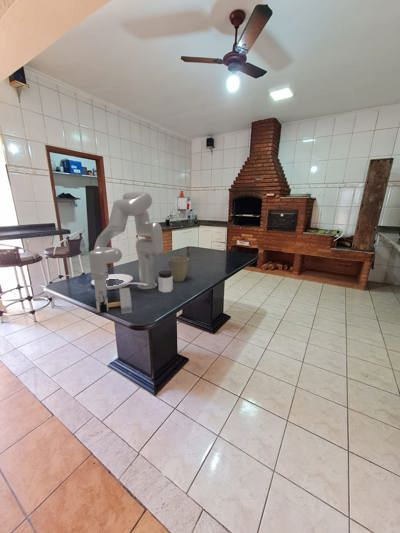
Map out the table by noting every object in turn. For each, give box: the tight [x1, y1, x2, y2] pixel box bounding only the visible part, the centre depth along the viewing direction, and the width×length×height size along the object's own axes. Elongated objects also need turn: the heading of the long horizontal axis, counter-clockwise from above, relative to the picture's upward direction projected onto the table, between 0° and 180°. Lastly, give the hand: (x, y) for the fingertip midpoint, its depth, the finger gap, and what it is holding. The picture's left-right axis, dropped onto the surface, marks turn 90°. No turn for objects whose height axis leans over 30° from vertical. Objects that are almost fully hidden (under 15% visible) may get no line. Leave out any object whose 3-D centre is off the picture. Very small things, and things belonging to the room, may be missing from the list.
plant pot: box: [167, 256, 190, 283], centre depth 157 cm, size 15×15×16 cm
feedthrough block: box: [118, 287, 133, 315], centre depth 116 cm, size 16×5×9 cm, turn 21°
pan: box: [90, 273, 148, 291], centre depth 145 cm, size 26×44×6 cm, turn 59°
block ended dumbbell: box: [95, 297, 133, 313], centre depth 114 cm, size 4×16×6 cm, turn 111°
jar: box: [157, 270, 174, 293], centre depth 139 cm, size 9×8×12 cm
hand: (103, 308), depth 113 cm, fingers closed on block ended dumbbell, 4 cm apart
